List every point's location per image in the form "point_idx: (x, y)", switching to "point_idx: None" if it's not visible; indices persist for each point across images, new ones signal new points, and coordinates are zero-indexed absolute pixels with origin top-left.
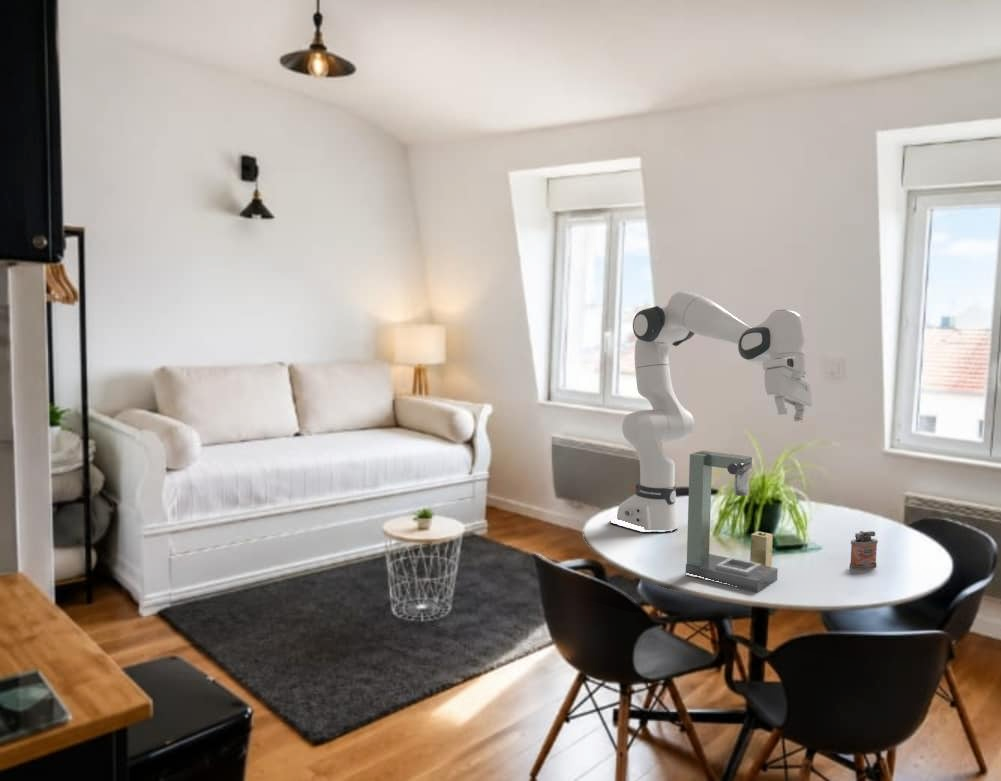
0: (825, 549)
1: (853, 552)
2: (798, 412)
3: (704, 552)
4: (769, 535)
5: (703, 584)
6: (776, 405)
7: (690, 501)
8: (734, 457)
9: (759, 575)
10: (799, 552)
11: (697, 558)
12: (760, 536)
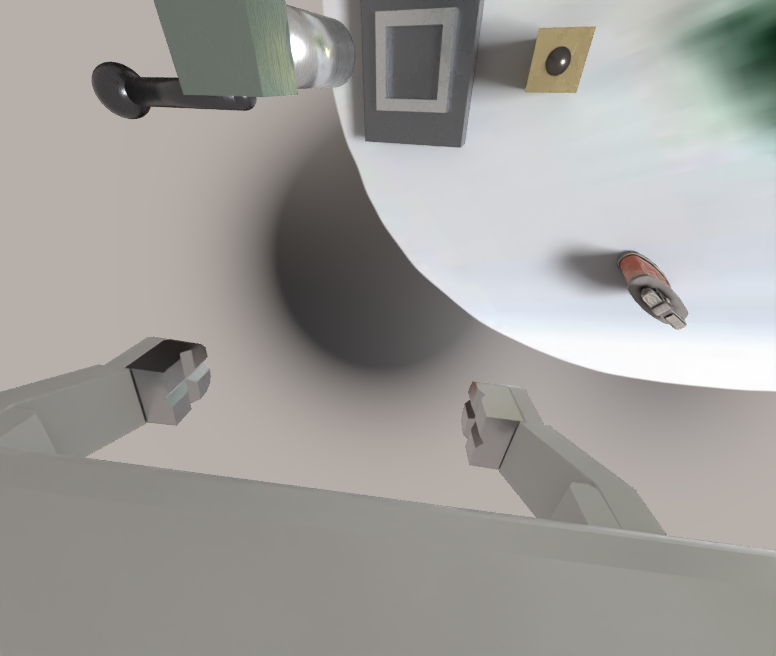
0: None
1: (627, 271)
2: (539, 474)
3: None
4: (553, 90)
5: (345, 10)
6: (54, 378)
7: None
8: (172, 12)
9: (396, 130)
10: (751, 112)
11: None
12: (530, 68)
